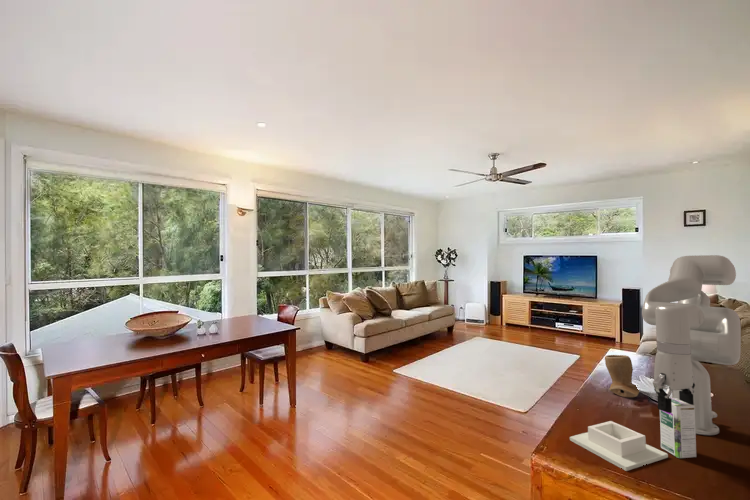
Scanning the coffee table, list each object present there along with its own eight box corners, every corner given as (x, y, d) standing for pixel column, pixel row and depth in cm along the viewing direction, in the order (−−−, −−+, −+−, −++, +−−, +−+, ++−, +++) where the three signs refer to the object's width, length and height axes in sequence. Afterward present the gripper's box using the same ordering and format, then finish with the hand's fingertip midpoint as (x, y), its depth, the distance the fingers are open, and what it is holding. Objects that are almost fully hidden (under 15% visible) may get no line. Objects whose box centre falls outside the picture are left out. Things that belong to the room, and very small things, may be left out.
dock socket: (608, 430, 112) (607, 414, 112) (668, 457, 96) (667, 439, 97) (569, 440, 106) (569, 423, 107) (626, 471, 91) (625, 451, 91)
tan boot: (608, 383, 154) (607, 349, 154) (642, 390, 146) (640, 354, 146) (601, 393, 143) (600, 357, 143) (637, 401, 135) (635, 362, 135)
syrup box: (659, 447, 101) (657, 397, 102) (678, 446, 102) (676, 396, 102) (678, 458, 96) (676, 406, 96) (698, 457, 96) (695, 404, 97)
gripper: (677, 343, 106) (679, 400, 105) (639, 347, 100) (641, 407, 99) (707, 348, 99) (710, 409, 98) (668, 353, 93) (671, 418, 92)
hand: (675, 408), depth 99 cm, fingers open, 9 cm apart
